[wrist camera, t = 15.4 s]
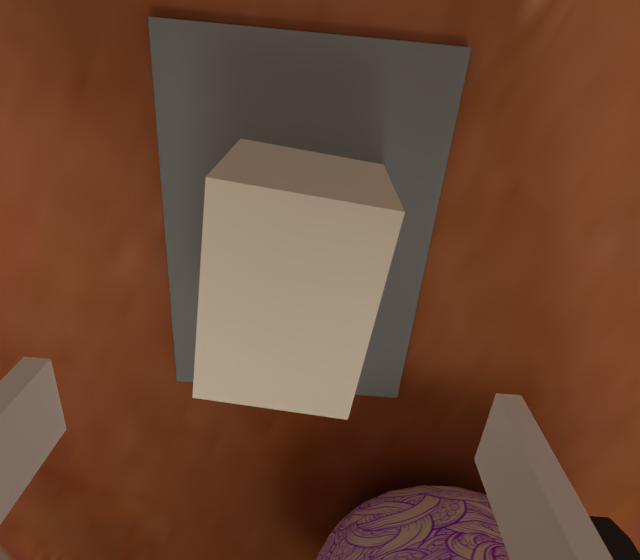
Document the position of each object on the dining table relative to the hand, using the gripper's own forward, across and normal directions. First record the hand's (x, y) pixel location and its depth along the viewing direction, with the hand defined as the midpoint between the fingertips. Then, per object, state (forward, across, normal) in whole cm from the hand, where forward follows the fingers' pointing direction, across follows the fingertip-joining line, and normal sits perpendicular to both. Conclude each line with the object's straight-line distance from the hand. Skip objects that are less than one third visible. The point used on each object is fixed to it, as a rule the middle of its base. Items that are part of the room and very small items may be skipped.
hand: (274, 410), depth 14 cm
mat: (+13, 0, 0) cm, 13 cm away
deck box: (+12, 0, 0) cm, 12 cm away
